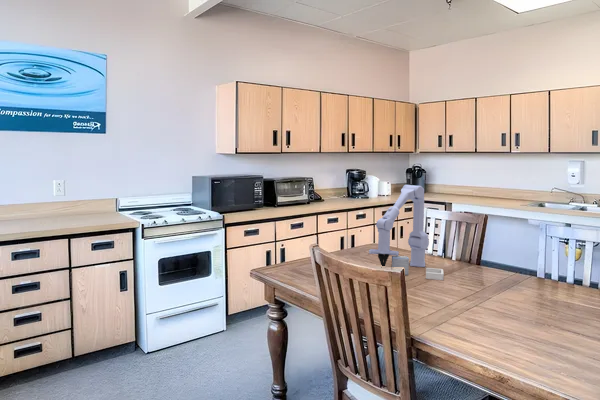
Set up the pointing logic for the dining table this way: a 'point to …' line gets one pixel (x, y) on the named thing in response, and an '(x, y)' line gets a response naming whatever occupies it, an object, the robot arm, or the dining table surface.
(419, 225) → the robot arm
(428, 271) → the dock
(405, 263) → the medicine box
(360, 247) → the dining table surface
